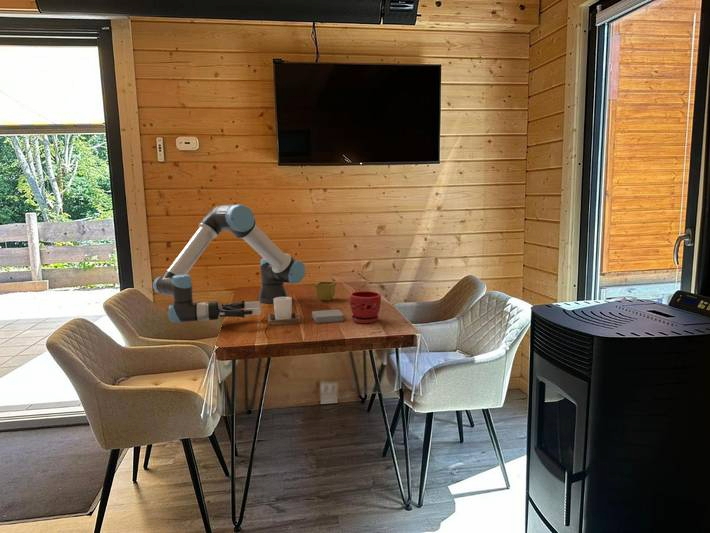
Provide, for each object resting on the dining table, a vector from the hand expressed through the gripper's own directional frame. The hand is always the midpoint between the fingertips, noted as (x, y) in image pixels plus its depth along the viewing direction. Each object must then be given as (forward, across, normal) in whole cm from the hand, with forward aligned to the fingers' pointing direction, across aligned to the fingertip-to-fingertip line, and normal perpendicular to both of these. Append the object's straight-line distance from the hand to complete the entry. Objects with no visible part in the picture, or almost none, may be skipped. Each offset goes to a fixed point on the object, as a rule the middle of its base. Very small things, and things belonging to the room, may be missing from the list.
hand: (260, 307), depth 205 cm
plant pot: (+44, +11, -7) cm, 45 cm away
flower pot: (+34, -40, -7) cm, 53 cm away
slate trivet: (+28, +2, -6) cm, 29 cm away
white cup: (+10, 0, -7) cm, 12 cm away
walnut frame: (+10, 0, -6) cm, 12 cm away
